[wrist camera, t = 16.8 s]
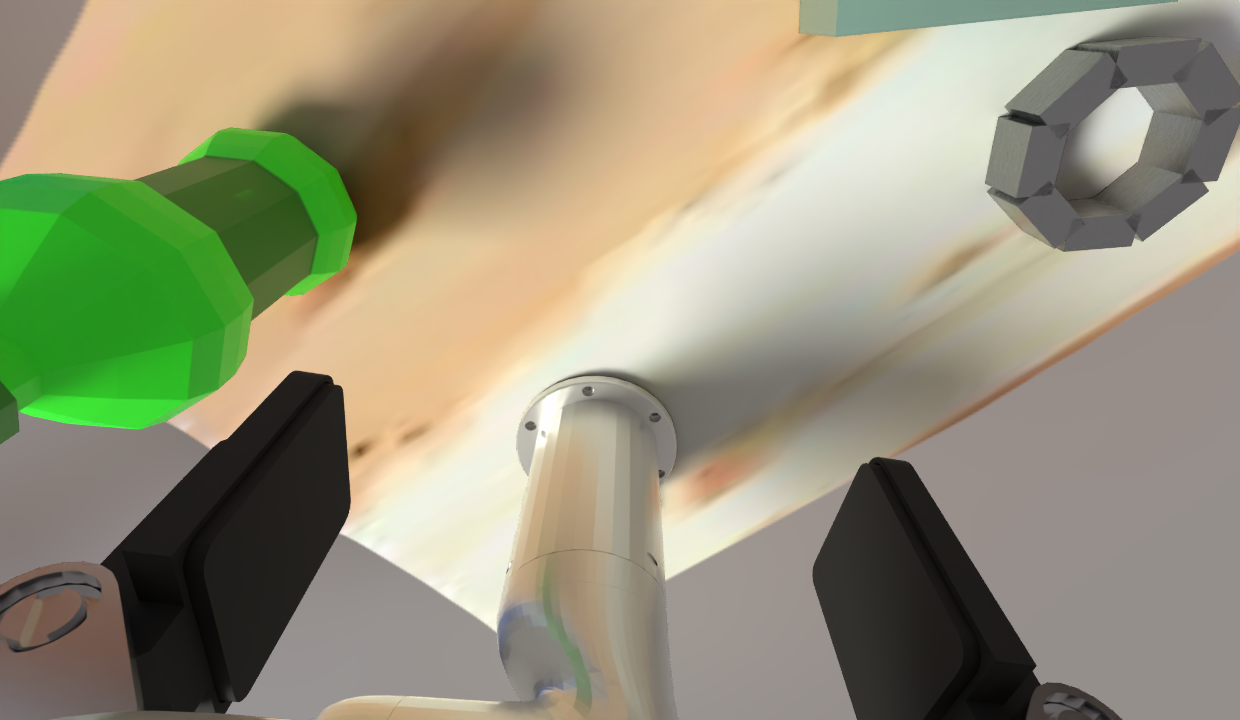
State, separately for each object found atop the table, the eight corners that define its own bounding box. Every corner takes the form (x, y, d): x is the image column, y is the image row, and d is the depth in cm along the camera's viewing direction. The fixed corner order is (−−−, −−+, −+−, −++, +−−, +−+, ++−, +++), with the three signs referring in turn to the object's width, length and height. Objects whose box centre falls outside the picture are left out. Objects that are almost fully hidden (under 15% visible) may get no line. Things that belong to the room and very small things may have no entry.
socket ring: (1150, 223, 39) (1193, 241, 36) (974, 237, 40) (1002, 256, 37) (1217, 29, 34) (1275, 31, 30) (1011, 50, 34) (1049, 53, 31)
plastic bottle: (413, 223, 40) (151, 474, 18) (297, 297, 43) (-50, 592, 21) (302, 79, 36) (-213, 180, 14) (181, 172, 38) (-405, 377, 17)
